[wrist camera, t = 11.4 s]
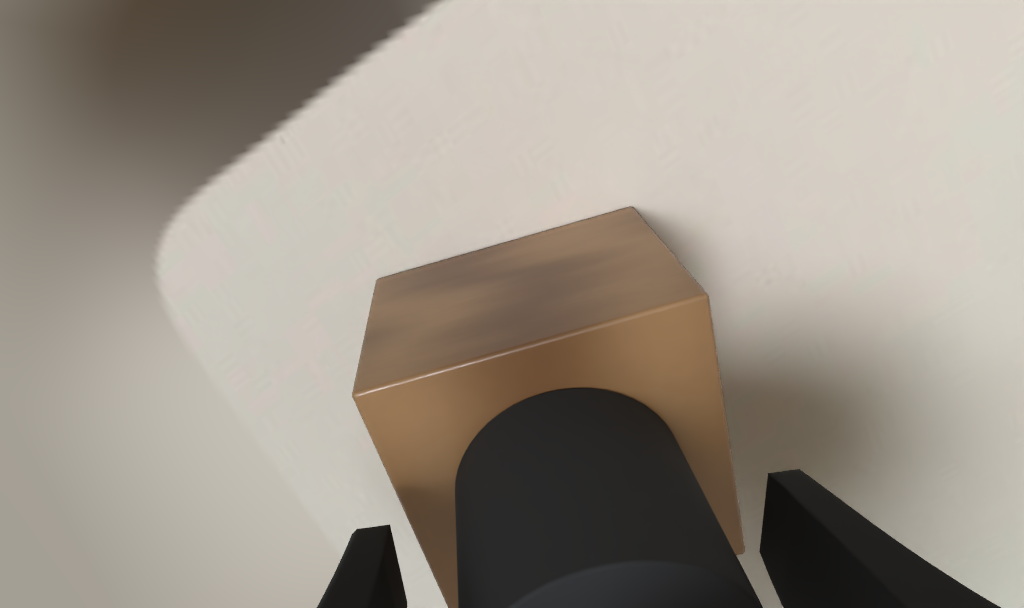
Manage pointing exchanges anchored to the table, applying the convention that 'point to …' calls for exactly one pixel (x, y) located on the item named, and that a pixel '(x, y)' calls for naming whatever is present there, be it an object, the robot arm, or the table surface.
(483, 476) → the tape roll
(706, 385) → the stand
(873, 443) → the table surface
